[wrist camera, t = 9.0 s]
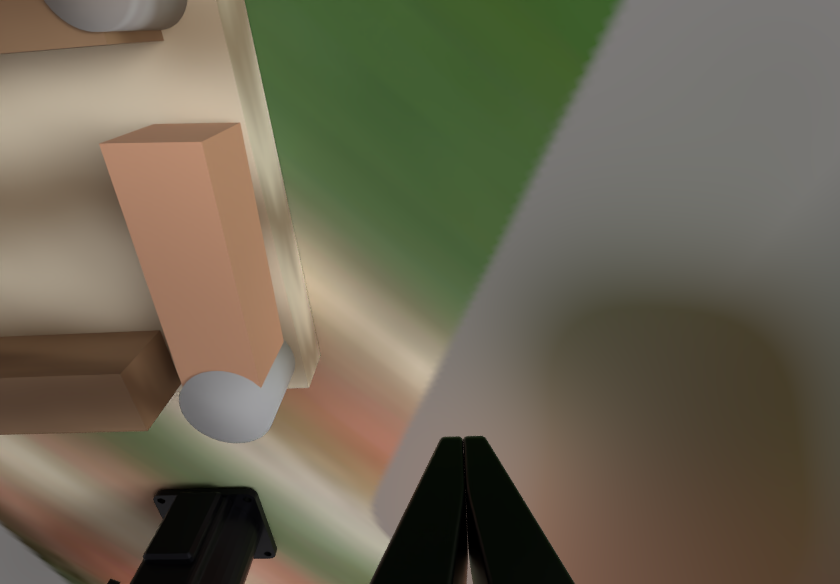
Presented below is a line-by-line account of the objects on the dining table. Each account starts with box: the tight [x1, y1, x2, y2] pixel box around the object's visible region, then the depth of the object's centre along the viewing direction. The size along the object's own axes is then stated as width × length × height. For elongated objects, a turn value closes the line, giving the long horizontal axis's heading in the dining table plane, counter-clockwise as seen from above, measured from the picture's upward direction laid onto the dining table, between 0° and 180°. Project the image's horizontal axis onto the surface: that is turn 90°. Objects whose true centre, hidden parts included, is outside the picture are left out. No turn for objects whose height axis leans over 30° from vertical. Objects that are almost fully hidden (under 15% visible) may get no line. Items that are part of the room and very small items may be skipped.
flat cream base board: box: [0, 0, 321, 435], centre depth 18 cm, size 18×18×6 cm
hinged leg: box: [99, 122, 295, 443], centre depth 18 cm, size 12×4×3 cm, turn 1°
